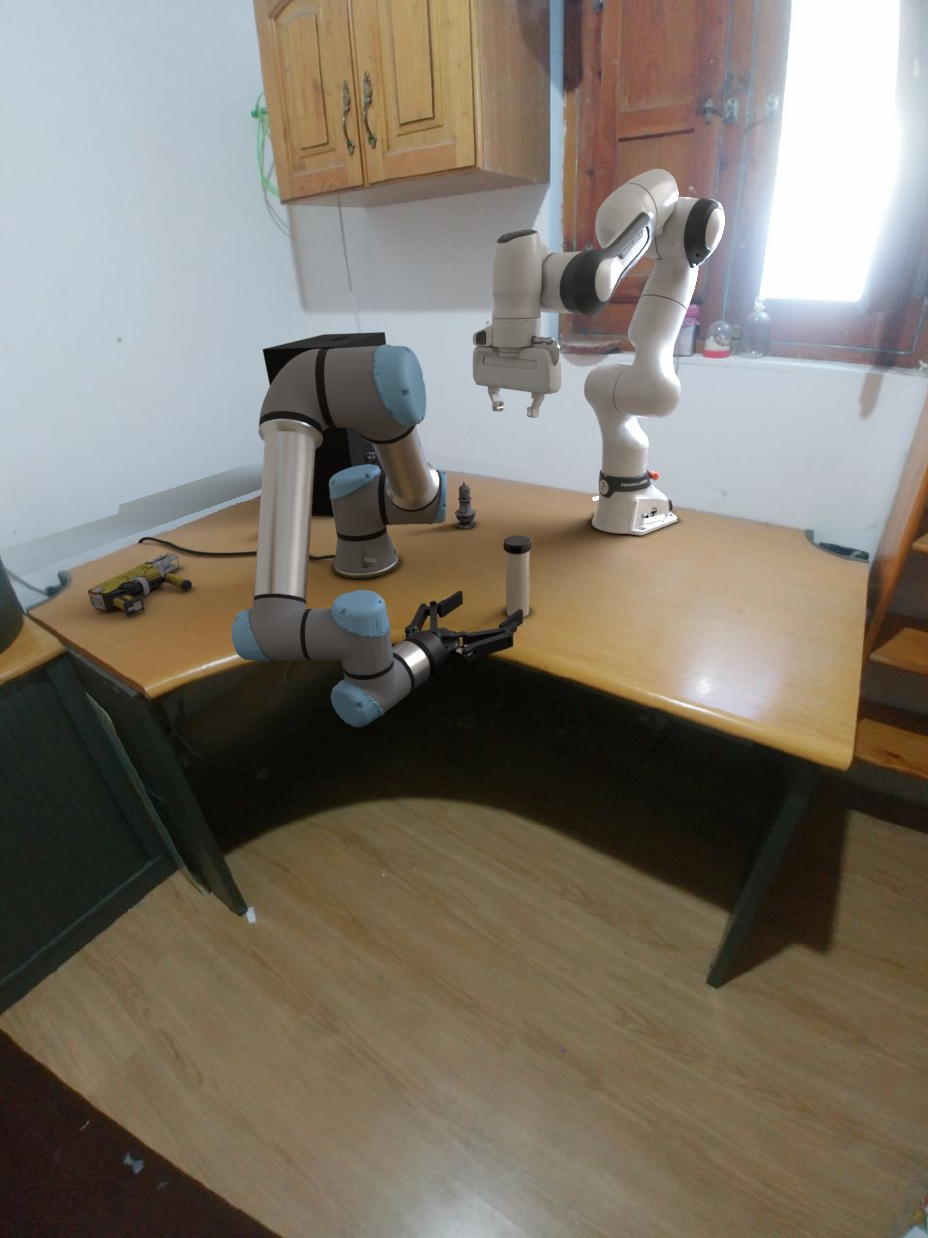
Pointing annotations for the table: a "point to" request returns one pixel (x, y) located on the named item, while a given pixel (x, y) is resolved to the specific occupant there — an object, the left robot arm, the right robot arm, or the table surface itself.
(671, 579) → the table surface
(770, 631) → the table surface
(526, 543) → the lid
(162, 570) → the toy gun
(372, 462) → the black computer case
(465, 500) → the grey chess piece
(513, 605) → the jar
